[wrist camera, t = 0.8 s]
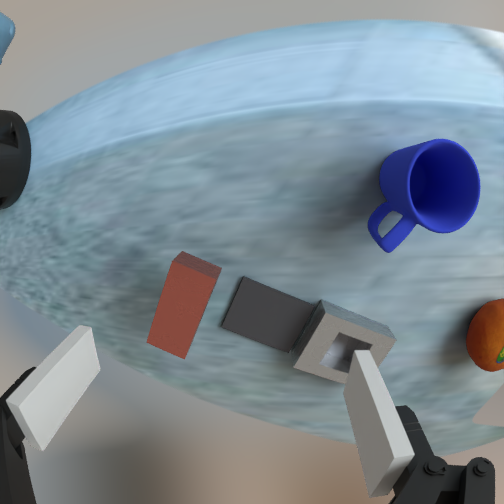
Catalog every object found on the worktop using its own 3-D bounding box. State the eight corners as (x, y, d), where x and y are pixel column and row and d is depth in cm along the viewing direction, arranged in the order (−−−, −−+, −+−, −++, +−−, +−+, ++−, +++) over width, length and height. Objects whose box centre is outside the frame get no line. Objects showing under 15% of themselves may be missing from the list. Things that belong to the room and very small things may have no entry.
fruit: (515, 287, 35) (546, 307, 27) (499, 346, 37) (524, 372, 30) (465, 293, 35) (496, 318, 28) (450, 357, 38) (473, 388, 30)
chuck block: (292, 351, 39) (293, 367, 35) (321, 299, 37) (325, 312, 33) (356, 373, 39) (362, 389, 36) (388, 326, 37) (396, 340, 34)
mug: (332, 203, 34) (355, 218, 24) (401, 129, 31) (444, 119, 21) (380, 252, 35) (414, 283, 25) (444, 181, 32) (493, 189, 22)
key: (175, 300, 38) (146, 342, 28) (199, 234, 36) (172, 260, 26) (204, 313, 38) (184, 359, 29) (231, 248, 36) (216, 279, 26)
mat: (222, 324, 38) (221, 327, 38) (243, 276, 37) (243, 278, 36) (288, 350, 39) (288, 352, 38) (313, 305, 37) (314, 307, 36)
